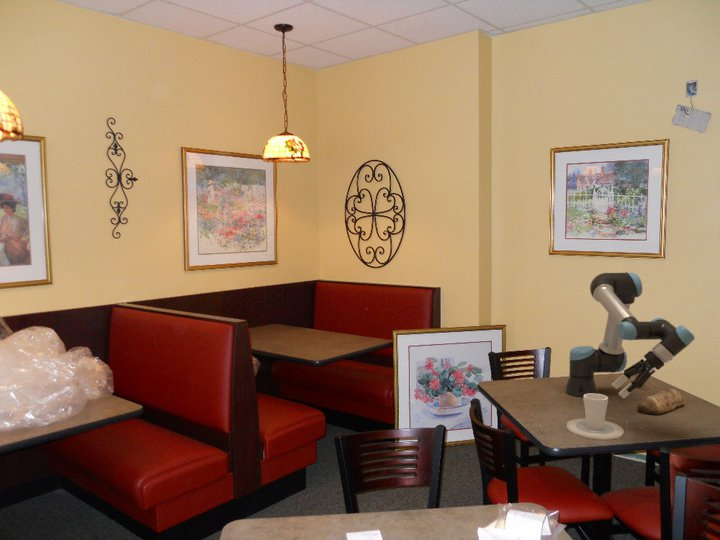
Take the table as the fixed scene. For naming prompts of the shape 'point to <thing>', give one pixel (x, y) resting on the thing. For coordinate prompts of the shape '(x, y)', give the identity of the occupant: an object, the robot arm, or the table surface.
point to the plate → (607, 433)
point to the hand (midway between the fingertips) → (617, 391)
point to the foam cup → (595, 410)
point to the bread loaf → (661, 402)
